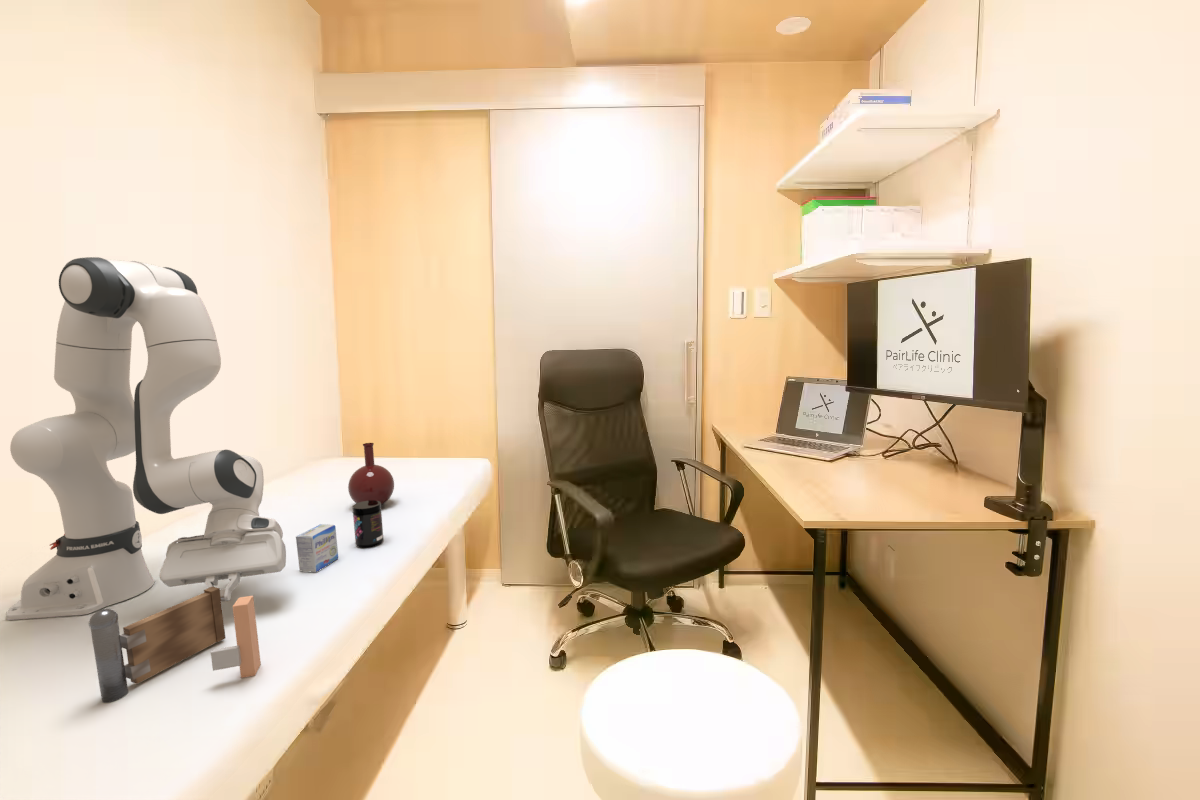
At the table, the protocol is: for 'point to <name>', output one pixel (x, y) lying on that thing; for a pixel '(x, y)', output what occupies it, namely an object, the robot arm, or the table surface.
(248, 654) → the latch post
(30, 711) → the table surface
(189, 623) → the gate
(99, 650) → the hinge post
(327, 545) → the medicine box
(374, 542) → the supplement container
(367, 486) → the round-bottom flask
